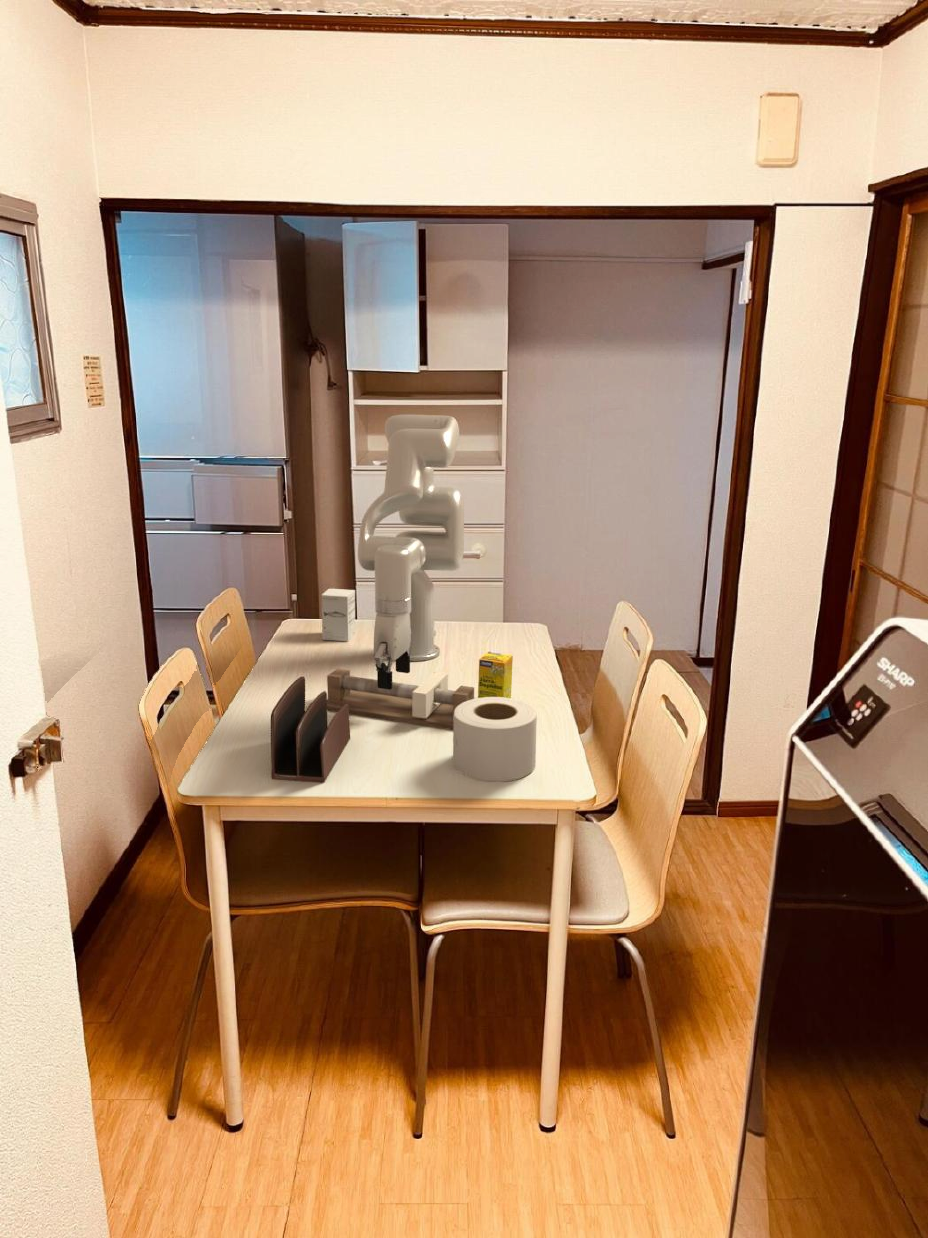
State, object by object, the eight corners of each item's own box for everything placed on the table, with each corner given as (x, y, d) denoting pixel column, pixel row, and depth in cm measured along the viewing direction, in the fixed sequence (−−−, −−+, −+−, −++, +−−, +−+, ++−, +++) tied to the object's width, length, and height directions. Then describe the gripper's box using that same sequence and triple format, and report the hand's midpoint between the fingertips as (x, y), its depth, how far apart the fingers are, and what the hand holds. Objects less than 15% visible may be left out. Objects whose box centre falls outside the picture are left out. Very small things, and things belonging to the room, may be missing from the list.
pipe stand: (345, 690, 209) (344, 663, 207) (478, 710, 199) (479, 681, 197) (320, 709, 198) (319, 680, 196) (460, 731, 188) (461, 701, 186)
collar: (434, 695, 202) (434, 672, 201) (447, 696, 201) (447, 673, 200) (412, 716, 190) (412, 692, 189) (425, 718, 190) (426, 694, 188)
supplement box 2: (477, 706, 201) (478, 659, 198) (486, 697, 207) (487, 650, 204) (503, 710, 199) (504, 662, 196) (511, 700, 205) (513, 654, 202)
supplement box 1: (321, 640, 244) (320, 594, 240) (330, 632, 251) (328, 587, 247) (348, 642, 243) (347, 596, 239) (356, 634, 250) (355, 589, 246)
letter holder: (271, 780, 166) (267, 707, 162) (302, 736, 185) (300, 670, 181) (324, 784, 165) (322, 711, 161) (351, 739, 184) (349, 672, 180)
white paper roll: (446, 778, 168) (447, 723, 165) (461, 743, 182) (462, 693, 179) (531, 786, 165) (533, 730, 162) (539, 750, 180) (541, 699, 177)
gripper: (393, 591, 201) (393, 664, 207) (359, 614, 186) (361, 692, 191) (424, 595, 199) (424, 668, 205) (393, 618, 184) (394, 697, 189)
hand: (394, 680), depth 198 cm, fingers open, 9 cm apart
